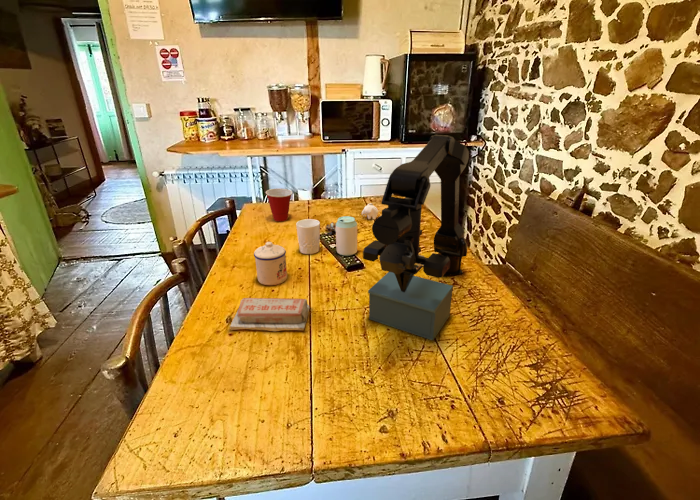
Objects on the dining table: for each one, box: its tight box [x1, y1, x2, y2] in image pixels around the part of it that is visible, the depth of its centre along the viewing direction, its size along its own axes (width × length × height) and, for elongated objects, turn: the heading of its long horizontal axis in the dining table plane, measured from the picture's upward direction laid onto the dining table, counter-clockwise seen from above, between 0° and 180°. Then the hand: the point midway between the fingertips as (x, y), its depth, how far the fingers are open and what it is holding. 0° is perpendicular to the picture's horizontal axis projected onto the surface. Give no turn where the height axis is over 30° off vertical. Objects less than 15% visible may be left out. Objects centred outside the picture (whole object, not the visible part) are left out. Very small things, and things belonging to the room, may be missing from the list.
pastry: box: [324, 221, 336, 236], centre depth 150 cm, size 7×12×4 cm, turn 89°
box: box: [368, 288, 454, 341], centre depth 97 cm, size 12×17×8 cm
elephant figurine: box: [361, 202, 379, 221], centre depth 162 cm, size 7×8×6 cm
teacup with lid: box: [253, 241, 288, 286], centre depth 116 cm, size 12×9×12 cm
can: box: [335, 215, 358, 257], centre depth 131 cm, size 7×7×12 cm
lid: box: [367, 271, 454, 313], centre depth 94 cm, size 12×17×1 cm
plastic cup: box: [265, 188, 293, 222], centre depth 162 cm, size 11×11×12 cm
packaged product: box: [229, 297, 311, 332], centre depth 97 cm, size 18×5×10 cm
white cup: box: [295, 218, 321, 255], centre depth 134 cm, size 8×8×10 cm
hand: (403, 291), depth 91 cm, fingers closed
